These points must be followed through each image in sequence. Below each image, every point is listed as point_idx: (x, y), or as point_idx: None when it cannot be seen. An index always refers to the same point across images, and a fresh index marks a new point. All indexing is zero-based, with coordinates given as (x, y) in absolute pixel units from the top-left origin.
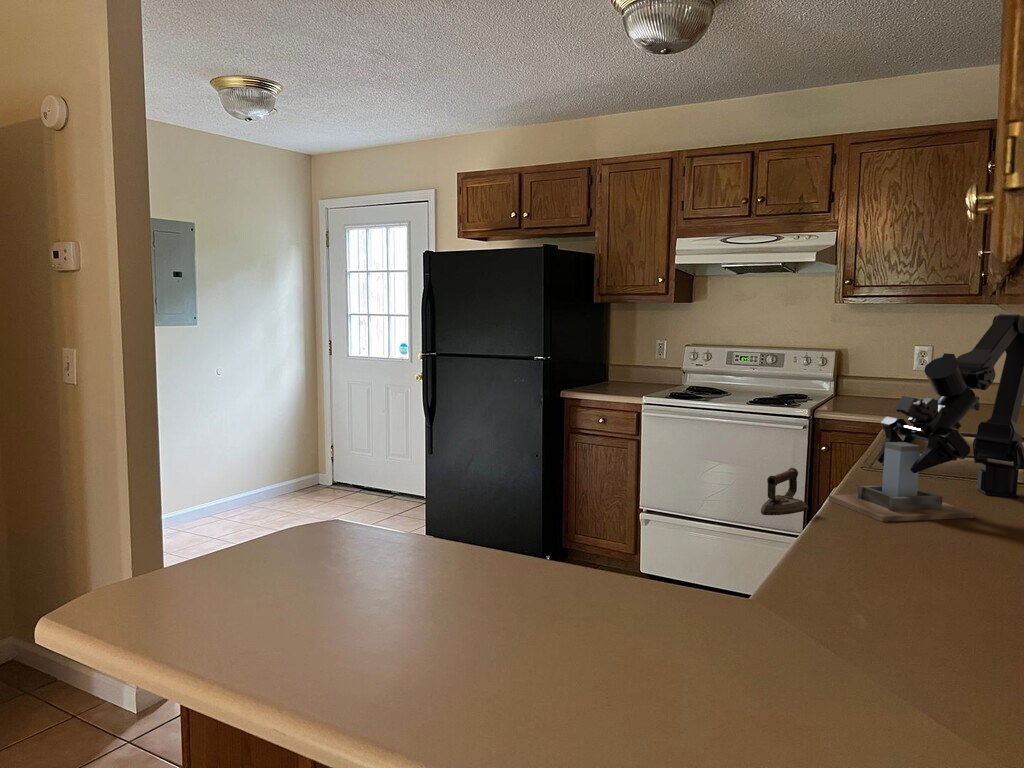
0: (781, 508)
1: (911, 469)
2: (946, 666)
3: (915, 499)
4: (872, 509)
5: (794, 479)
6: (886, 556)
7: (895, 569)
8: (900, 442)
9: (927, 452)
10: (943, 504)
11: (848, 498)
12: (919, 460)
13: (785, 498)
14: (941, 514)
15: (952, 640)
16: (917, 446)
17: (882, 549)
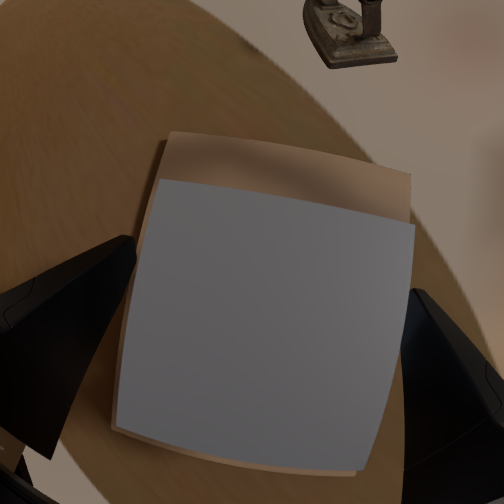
0: (307, 8)
1: (124, 235)
2: (7, 14)
3: None
4: (235, 160)
5: (365, 8)
6: (72, 42)
7: (53, 35)
8: (362, 411)
9: (10, 295)
10: None
11: (367, 197)
12: (72, 262)
13: (349, 26)
14: (122, 327)
15: (5, 25)
16: (119, 390)
17: (86, 48)
